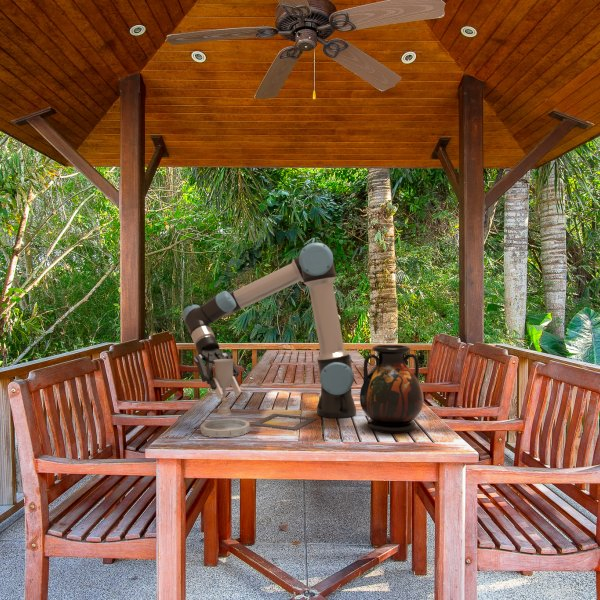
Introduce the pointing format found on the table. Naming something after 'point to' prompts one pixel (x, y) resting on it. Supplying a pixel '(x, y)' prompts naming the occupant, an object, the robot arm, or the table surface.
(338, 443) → the table surface
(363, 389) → the amphora vase
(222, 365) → the chalice
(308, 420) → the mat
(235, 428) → the plate
